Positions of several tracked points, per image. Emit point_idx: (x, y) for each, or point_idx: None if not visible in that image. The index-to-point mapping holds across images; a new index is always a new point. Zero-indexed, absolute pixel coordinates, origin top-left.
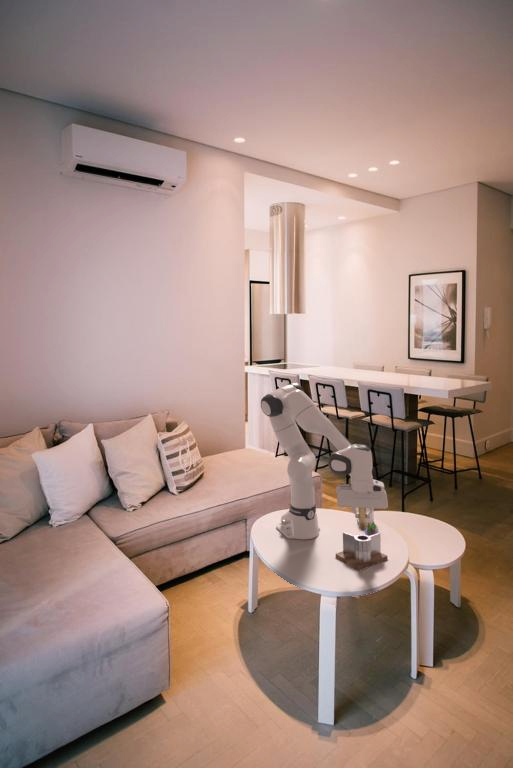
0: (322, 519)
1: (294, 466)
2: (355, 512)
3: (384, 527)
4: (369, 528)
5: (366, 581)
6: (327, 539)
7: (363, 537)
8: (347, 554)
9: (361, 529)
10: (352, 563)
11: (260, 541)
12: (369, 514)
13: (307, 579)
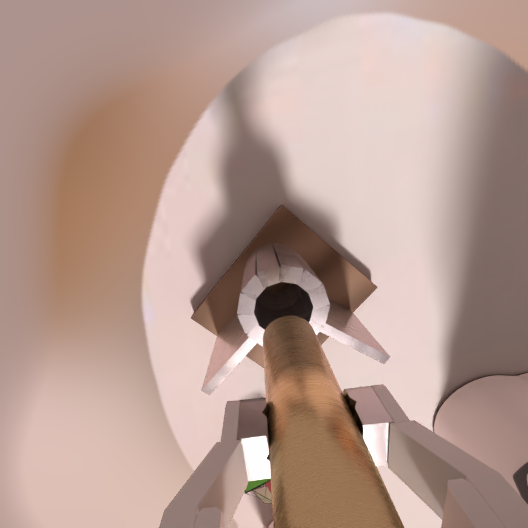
0: (422, 513)
1: None
2: (418, 439)
3: None
4: None
5: (247, 125)
6: (403, 397)
7: None
8: (333, 293)
9: (297, 316)
10: (310, 229)
11: None
12: (225, 440)
13: (472, 77)
